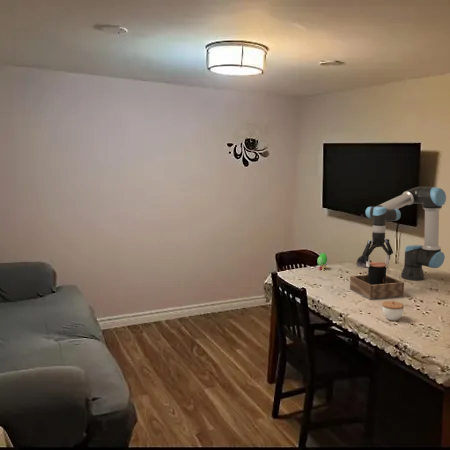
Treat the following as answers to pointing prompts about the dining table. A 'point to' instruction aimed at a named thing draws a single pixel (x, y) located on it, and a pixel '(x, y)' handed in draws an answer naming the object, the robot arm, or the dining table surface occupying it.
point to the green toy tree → (322, 261)
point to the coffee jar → (377, 273)
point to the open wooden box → (376, 288)
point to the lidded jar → (392, 310)
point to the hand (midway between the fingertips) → (377, 265)
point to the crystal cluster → (361, 261)
